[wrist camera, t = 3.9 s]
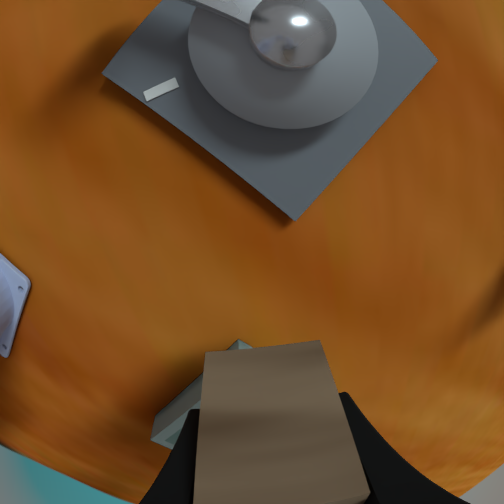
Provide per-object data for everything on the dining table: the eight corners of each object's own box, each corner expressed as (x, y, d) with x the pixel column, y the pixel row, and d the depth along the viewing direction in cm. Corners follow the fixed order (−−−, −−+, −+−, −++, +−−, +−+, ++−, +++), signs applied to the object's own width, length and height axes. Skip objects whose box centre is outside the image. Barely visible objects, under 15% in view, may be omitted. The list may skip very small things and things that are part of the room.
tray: (257, 457, 25) (258, 479, 22) (155, 415, 22) (150, 439, 19) (345, 399, 22) (354, 423, 20) (238, 339, 19) (239, 366, 17)
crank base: (292, 216, 16) (301, 232, 14) (107, 75, 13) (87, 69, 10) (430, 61, 13) (455, 57, 11) (262, -76, 9) (266, -99, 7)
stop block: (315, 409, 12) (345, 531, 7) (222, 419, 12) (222, 546, 7) (319, 339, 11) (370, 492, 5) (205, 352, 11) (192, 513, 5)
